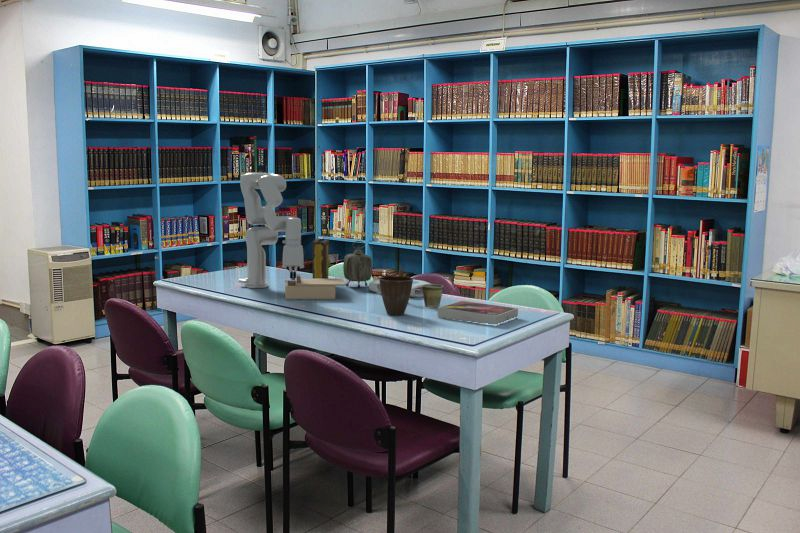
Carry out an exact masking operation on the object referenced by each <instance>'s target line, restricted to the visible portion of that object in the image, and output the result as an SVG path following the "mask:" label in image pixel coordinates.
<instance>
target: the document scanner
mask: <svg viewBox="0 0 800 533" xmlns="http://www.w3.org/2000/svg"><path fill="white" fill-rule="evenodd" d="M424 284H431V282H428V281H425V280H421V279H414V278H413V283H412V289H411V293H410V297H409V298H419V297H424V295H423V289H422V285H424ZM418 288H421V289H418ZM368 290H369V291H372V292H374V293H376V294H380V295H382V294H381V289H380V281H379V278H378V279H377V278H376V279H374V280H371V281H370V282H369V283H368ZM416 292H417V293H416Z"/></svg>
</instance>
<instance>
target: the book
mask: <svg viewBox="0 0 800 533" xmlns="http://www.w3.org/2000/svg"><path fill="white" fill-rule="evenodd" d="M321 240H322V238H317V239H315V240H313V242H312V278H326V279H329V267H330V265H331V263H332V262H331V259H330V257H329V256H330V255H329V253H330V252H329V251H330V250H329V249H330V239H329V238H325V239H324V240H322V241H321Z"/></svg>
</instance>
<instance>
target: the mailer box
mask: <svg viewBox="0 0 800 533" xmlns="http://www.w3.org/2000/svg"><path fill="white" fill-rule="evenodd" d="M284 280H285V279H284ZM284 282H285V283H284V284H285V288H284V290H285V291H284V292H285V294H284V295H285V296H284V298H285V299H284V300H285V301H291V300H293V301H295V300H296V299H330V300H331V299H332V300H336V286H296V283H295V280H291V279H290V280H285V281H284ZM332 300H331V301H332ZM296 301H297V300H296Z"/></svg>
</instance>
